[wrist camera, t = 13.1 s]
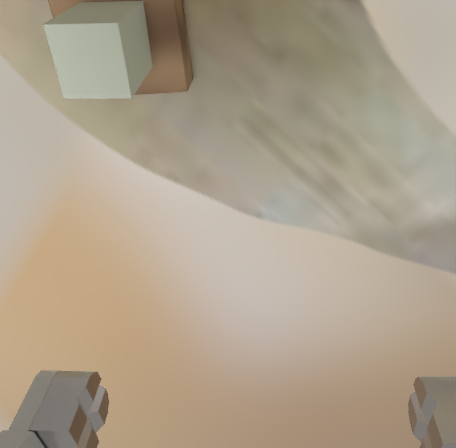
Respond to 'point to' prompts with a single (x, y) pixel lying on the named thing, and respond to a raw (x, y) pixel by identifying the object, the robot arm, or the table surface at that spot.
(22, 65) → the table surface
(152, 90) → the walnut block
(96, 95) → the sage block
